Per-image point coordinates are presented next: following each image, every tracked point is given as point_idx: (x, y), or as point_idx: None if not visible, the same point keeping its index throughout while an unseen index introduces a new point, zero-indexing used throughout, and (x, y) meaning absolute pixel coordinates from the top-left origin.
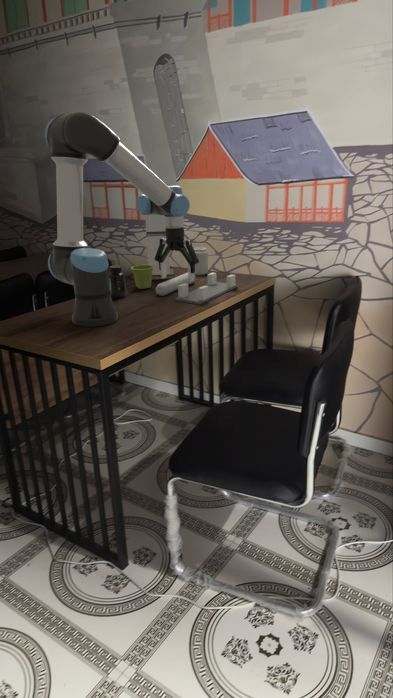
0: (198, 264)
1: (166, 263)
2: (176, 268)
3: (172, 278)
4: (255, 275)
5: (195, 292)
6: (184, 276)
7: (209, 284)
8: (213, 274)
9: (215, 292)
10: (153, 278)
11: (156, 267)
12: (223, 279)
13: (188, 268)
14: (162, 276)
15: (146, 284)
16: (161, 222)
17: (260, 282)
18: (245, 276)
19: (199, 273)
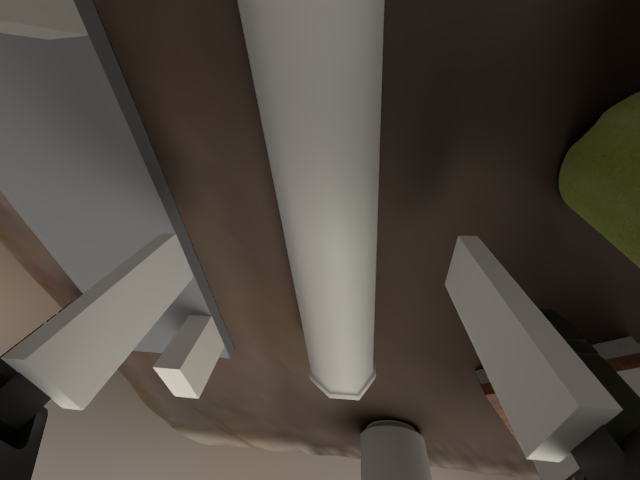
0: (387, 477)
1: (564, 474)
2: (526, 464)
3: (476, 372)
4: (221, 435)
5: (105, 154)
6: (318, 333)
7: (200, 318)
8: (162, 376)
9: (40, 212)
10: (600, 348)
11: None
12: (263, 397)
13: (62, 323)
14: (467, 247)
15: (620, 127)
16: None
17: (142, 393)
18: (235, 427)
19: (379, 427)
